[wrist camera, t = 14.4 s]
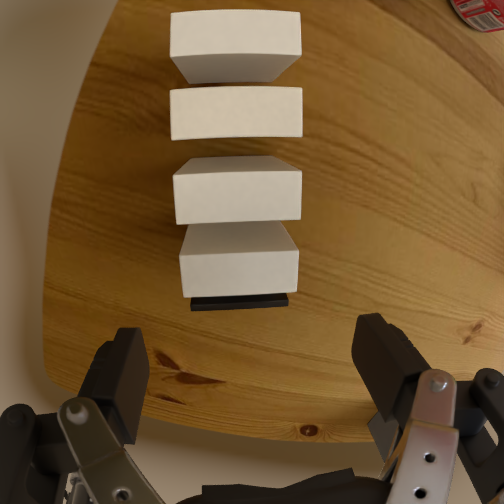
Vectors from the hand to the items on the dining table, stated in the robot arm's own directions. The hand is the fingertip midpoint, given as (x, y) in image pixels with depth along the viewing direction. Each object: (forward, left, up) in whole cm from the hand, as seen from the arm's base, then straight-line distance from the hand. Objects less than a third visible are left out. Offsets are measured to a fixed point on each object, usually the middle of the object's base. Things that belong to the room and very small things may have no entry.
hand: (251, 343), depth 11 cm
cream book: (0, 0, -15) cm, 15 cm away
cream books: (+2, +5, -15) cm, 15 cm away
